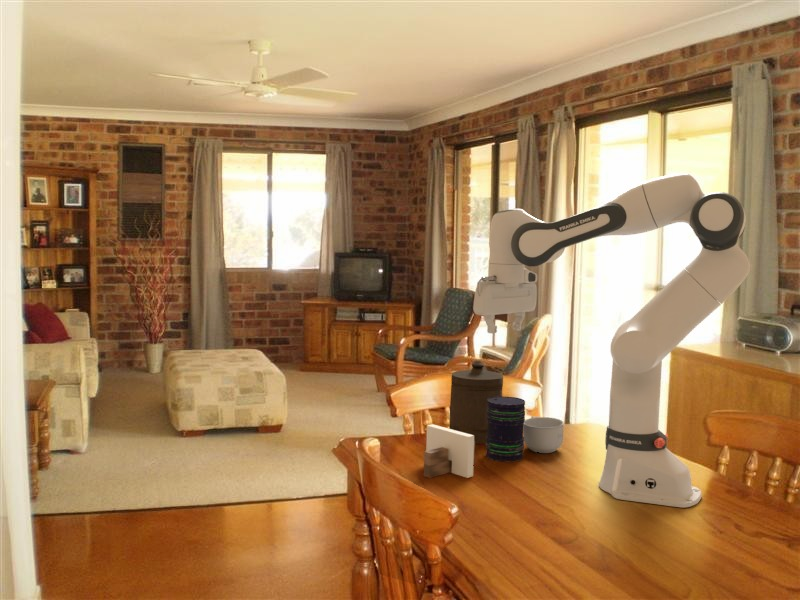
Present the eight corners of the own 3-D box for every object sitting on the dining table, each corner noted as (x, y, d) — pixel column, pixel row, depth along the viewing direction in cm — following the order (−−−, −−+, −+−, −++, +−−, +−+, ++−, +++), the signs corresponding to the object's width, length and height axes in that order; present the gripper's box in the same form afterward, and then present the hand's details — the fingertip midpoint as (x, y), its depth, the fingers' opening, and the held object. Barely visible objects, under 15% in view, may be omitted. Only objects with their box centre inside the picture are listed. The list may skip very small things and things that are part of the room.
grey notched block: (468, 463, 207) (469, 440, 207) (474, 465, 206) (475, 441, 205) (423, 476, 196) (424, 451, 196) (429, 478, 195) (430, 453, 194)
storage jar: (528, 454, 216) (530, 399, 215) (516, 464, 208) (518, 406, 206) (493, 449, 221) (495, 394, 219) (479, 458, 212) (481, 401, 211)
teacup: (566, 456, 216) (567, 426, 215) (524, 455, 216) (525, 425, 215) (556, 442, 229) (557, 414, 229) (518, 441, 230) (519, 413, 229)
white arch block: (473, 476, 197) (474, 435, 196) (467, 477, 196) (468, 436, 195) (431, 463, 207) (432, 424, 206) (426, 464, 206) (426, 425, 205)
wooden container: (497, 431, 241) (499, 356, 239) (505, 444, 226) (507, 365, 224) (446, 430, 240) (448, 356, 238) (451, 444, 225) (453, 365, 223)
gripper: (488, 277, 191) (486, 336, 192) (541, 275, 205) (539, 329, 206) (468, 275, 196) (466, 333, 197) (521, 273, 210) (520, 327, 211)
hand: (504, 331), depth 202 cm, fingers open, 8 cm apart
